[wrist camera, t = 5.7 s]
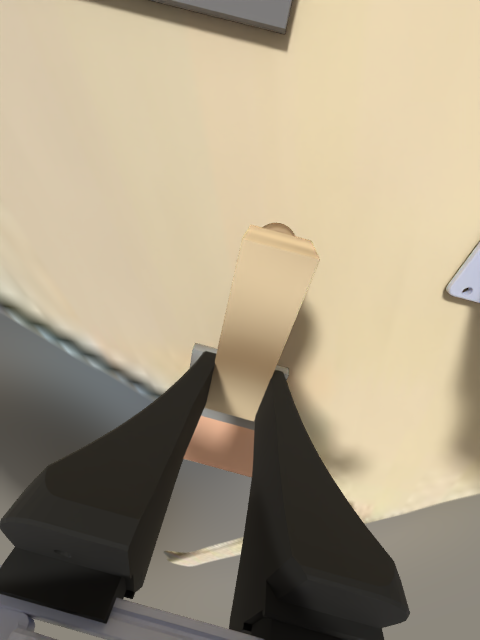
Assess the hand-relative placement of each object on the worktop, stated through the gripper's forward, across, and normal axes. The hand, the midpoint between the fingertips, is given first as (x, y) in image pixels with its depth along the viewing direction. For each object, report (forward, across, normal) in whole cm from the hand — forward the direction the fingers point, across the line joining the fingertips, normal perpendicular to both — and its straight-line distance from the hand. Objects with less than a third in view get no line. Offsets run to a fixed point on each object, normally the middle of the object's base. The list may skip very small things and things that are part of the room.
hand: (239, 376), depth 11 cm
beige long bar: (+3, 0, 0) cm, 4 cm away
